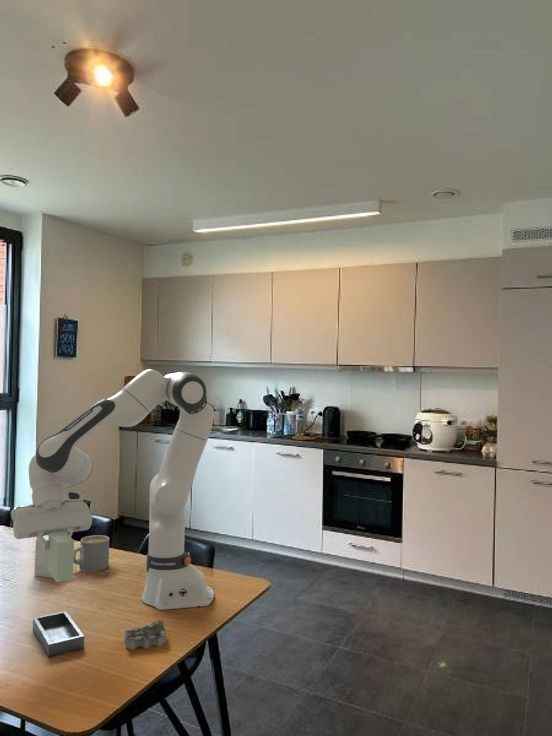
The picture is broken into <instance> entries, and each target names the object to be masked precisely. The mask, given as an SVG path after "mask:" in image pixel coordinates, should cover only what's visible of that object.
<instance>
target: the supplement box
mask: <svg viewBox="0 0 552 736" xmlns="http://www.w3.org/2000/svg"><path fill="white" fill-rule="evenodd" d="M43 538H44V539H45V540H46V541H48V539H49V535H46V536H43ZM34 550H35V554H34V576H36V577H43V578H51V579H54V578H53V577H52V576H51V574H50V573H49V572H48V570H47V567H48V549H46V550H43V545H42V544H41V543H40V542H39V541H38V540H37V538H36V539H35V549H34Z"/></svg>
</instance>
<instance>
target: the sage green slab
mask: <svg viewBox="0 0 552 736" xmlns="http://www.w3.org/2000/svg"><path fill="white" fill-rule="evenodd" d="M48 541H50V543H49V544H50V548H49V549H48V567H47V570H48V572H49V573H50V574H51V576H52V577H53V578H52V579H53V580H54V581H55V582H56V583H60V582H66V581H71V580H73V579H74V563H73V560H74V548H75V540H74V538H72V536H71V537H70V536H69V535H68V534H67V533H66V532H65V531H61V532H53V533H49V539H48Z"/></svg>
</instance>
